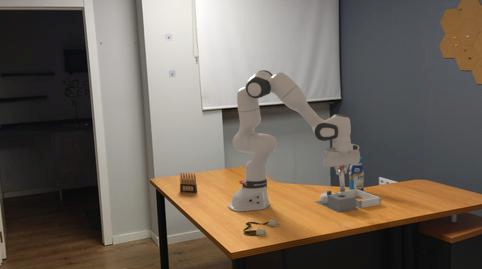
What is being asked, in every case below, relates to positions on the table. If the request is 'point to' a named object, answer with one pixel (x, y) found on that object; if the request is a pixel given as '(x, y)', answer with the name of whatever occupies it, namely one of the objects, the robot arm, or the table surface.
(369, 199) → the tray
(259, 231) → the cable
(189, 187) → the ammunition clip
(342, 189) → the lock pin
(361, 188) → the beverage bottle
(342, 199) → the grey rectangular block
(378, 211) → the table surface
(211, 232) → the table surface
